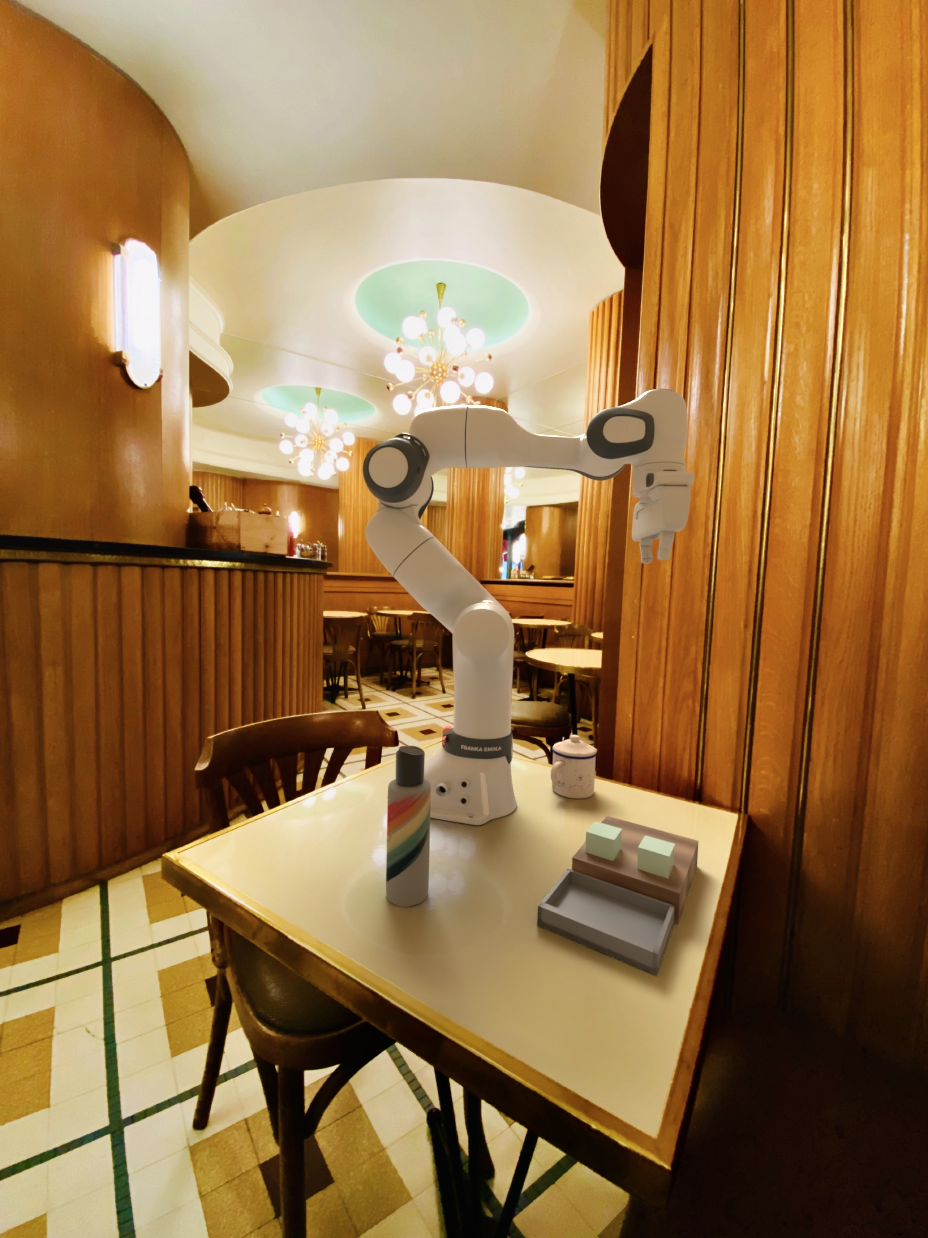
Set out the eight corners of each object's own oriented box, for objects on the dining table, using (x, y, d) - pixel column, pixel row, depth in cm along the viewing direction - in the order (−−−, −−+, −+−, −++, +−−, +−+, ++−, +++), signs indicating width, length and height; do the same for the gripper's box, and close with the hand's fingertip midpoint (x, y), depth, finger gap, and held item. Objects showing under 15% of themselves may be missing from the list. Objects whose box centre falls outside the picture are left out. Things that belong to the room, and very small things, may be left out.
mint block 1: (594, 840, 73) (595, 821, 73) (621, 849, 71) (622, 829, 71) (585, 852, 70) (586, 831, 70) (613, 861, 68) (614, 840, 68)
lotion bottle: (387, 882, 68) (390, 741, 67) (428, 881, 69) (431, 741, 68) (384, 908, 63) (387, 755, 62) (428, 907, 63) (432, 755, 62)
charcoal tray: (567, 886, 69) (567, 868, 68) (674, 925, 61) (675, 906, 61) (537, 925, 60) (537, 905, 60) (656, 976, 53) (657, 954, 52)
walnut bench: (605, 839, 82) (606, 815, 82) (697, 866, 75) (698, 840, 74) (571, 885, 69) (572, 857, 69) (678, 924, 61) (679, 893, 61)
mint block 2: (644, 855, 70) (644, 835, 69) (674, 865, 67) (675, 843, 67) (636, 868, 66) (637, 847, 66) (668, 878, 64) (669, 856, 64)
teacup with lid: (566, 779, 109) (568, 727, 108) (603, 792, 102) (606, 736, 101) (533, 793, 100) (535, 737, 100) (570, 808, 94) (573, 748, 93)
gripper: (625, 496, 99) (622, 564, 100) (658, 470, 79) (654, 557, 79) (657, 496, 99) (653, 565, 99) (699, 471, 78) (694, 558, 79)
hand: (654, 561), depth 89 cm, fingers open, 8 cm apart
